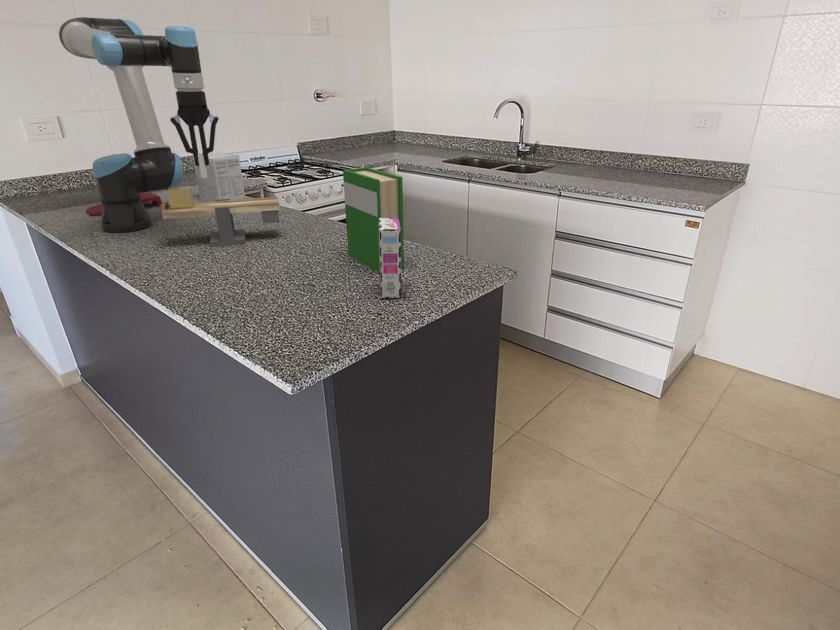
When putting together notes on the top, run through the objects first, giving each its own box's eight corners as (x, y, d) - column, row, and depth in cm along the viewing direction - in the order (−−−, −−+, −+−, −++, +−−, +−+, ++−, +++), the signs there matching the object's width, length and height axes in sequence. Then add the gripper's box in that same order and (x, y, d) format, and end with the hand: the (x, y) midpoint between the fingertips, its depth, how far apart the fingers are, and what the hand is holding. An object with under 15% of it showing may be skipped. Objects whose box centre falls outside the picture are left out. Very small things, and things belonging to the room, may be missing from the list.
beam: (169, 224, 160) (164, 199, 157) (279, 215, 169) (276, 192, 166) (166, 232, 152) (160, 206, 148) (281, 222, 160) (278, 198, 157)
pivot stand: (212, 236, 166) (206, 200, 161) (244, 233, 169) (239, 198, 164) (210, 247, 156) (203, 209, 151) (245, 243, 158) (239, 206, 154)
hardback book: (403, 268, 138) (402, 176, 128) (379, 274, 134) (376, 180, 124) (371, 251, 151) (367, 167, 141) (348, 256, 147) (342, 170, 137)
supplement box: (246, 197, 218) (240, 154, 211) (220, 203, 208) (212, 158, 201) (225, 194, 225) (218, 152, 217) (199, 200, 215) (191, 156, 207)
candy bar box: (402, 298, 119) (401, 229, 112) (380, 299, 119) (378, 230, 112) (400, 281, 129) (398, 216, 123) (380, 282, 129) (377, 217, 122)
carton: (96, 227, 191) (164, 206, 204) (90, 214, 189) (160, 194, 201) (90, 220, 200) (156, 201, 212) (84, 208, 197) (151, 189, 210)
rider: (173, 207, 156) (169, 187, 154) (194, 205, 158) (190, 185, 155) (171, 211, 152) (167, 190, 149) (193, 209, 153) (189, 189, 151)
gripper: (162, 90, 138) (179, 180, 148) (214, 90, 142) (227, 178, 152) (166, 89, 145) (181, 175, 155) (215, 89, 148) (227, 173, 158)
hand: (204, 176), depth 153 cm, fingers closed
